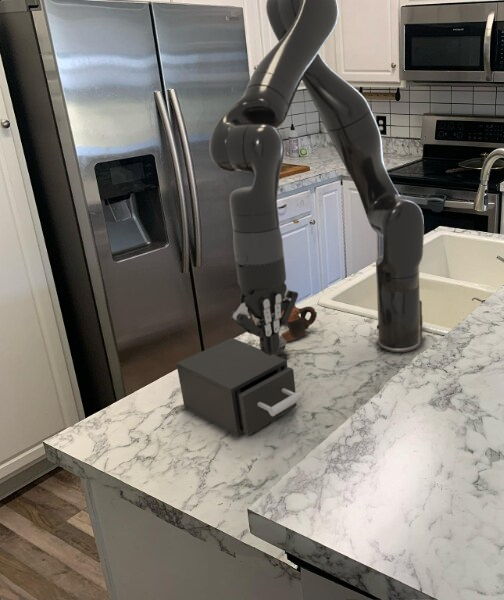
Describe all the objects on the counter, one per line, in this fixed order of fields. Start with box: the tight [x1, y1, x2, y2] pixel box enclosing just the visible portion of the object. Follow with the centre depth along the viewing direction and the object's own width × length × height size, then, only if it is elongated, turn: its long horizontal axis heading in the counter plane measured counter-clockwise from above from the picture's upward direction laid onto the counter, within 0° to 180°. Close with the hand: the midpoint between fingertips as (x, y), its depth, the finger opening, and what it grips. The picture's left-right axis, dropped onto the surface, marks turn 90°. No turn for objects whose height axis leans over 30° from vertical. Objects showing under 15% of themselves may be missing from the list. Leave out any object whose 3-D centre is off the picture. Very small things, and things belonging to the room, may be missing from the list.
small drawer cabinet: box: [176, 337, 289, 438], centre depth 113 cm, size 16×13×10 cm
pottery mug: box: [281, 304, 318, 343], centre depth 143 cm, size 12×10×8 cm
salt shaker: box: [258, 330, 288, 360], centre depth 130 cm, size 6×6×12 cm
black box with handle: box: [235, 366, 303, 436], centre depth 110 cm, size 19×11×8 cm, turn 53°
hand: (270, 352), depth 102 cm, fingers closed
